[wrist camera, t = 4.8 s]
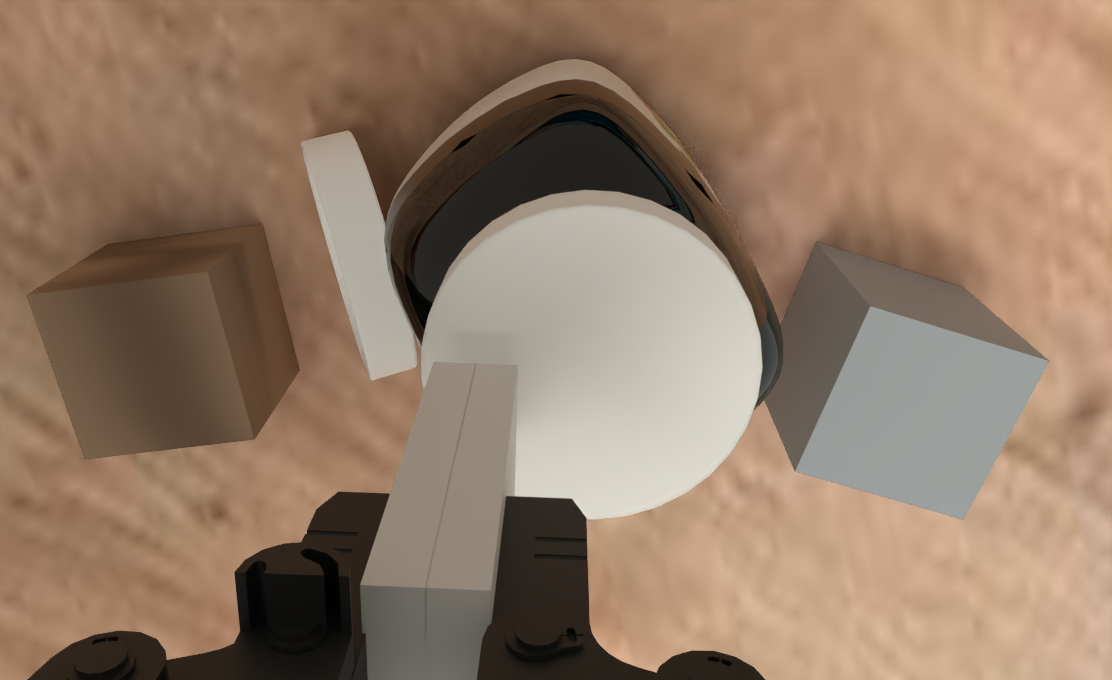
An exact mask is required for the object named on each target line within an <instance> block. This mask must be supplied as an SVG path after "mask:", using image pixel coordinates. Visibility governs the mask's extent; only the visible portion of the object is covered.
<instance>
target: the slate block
mask: <svg viewBox="0 0 1112 680" xmlns="http://www.w3.org/2000/svg"><path fill="white" fill-rule="evenodd" d="M780 328H781V333H782V337H783V366H782V368H781V371H780V374H779V378H778V380H777V381H776V383H775V385H774V386H773V388H772V390H771V392H770V393H769V394H768V395H767V396H766V398H765V399H764V400H765V403H766V405H767V407H768V410H769V412H770V414H771V417H772V419H773V421H774V424H775V426H776V428H777V431H778V433H779V435H780V438H781V440H782V442H783V445H784V447H785V449H786V452H787V454H788V456H789V459H790V461H791V463H792V466H793V468H794V470H795V472H798V473H802V474H805V475H809V476H812V477H816V478H819V479H823V480H826V481H830V482H833V483H837V484H840V485H844V486H847V487H851V488H854V489H858V490H861V491H865V492H868V493H871V494H875V495H878V496H882V497H885V498H889V499H892V500H896V501H899V502H903V503H906V504H910V505H913V506H917V507H920V508H924V509H927V510H931V511H934V512H938V513H941V514H945V515H948V516H952V517H955V518H959V519H962V520H964V518H965V516H966V514H967V512H968V511H969V509H970V507H971V505H972V503H973V501H974V499H975V498H976V496H977V494H978V492H979V490H980V488H981V487H982V485H983V483H984V481H985V479H986V477H987V475H988V474H989V472H990V470H991V468H992V466H993V464H994V462H995V461H996V459H997V457H998V455H999V453H1000V451H1001V450H1002V448H1003V446H1004V444H1005V442H1006V440H1007V438H1008V437H1009V435H1010V433H1011V431H1012V429H1013V427H1014V426H1015V424H1016V422H1017V420H1018V418H1019V416H1020V414H1021V413H1022V411H1023V409H1024V407H1025V405H1026V403H1027V402H1028V400H1029V398H1030V396H1031V394H1032V392H1033V390H1034V389H1035V387H1036V385H1037V383H1038V381H1039V379H1040V377H1041V376H1042V374H1043V372H1044V370H1045V368H1046V366H1047V365H1048V363H1049V360H1047V359H1046V358H1045V357H1044V356H1043V355H1042V354H1040V353H1039V352H1038V351H1037V350H1036V349H1035V348H1033V347H1032V346H1031V345H1030V344H1029V343H1028V342H1027V341H1025V340H1024V339H1023V338H1022V337H1021V336H1020V335H1018V334H1017V333H1016V332H1015V331H1014V330H1013V329H1011V328H1010V327H1009V326H1008V325H1007V324H1006V323H1004V322H1003V321H1002V320H1001V319H1000V318H999V317H997V316H996V315H995V314H994V313H993V312H992V311H990V310H989V309H988V308H987V307H986V306H985V305H983V304H982V303H981V302H980V301H979V300H978V299H976V298H975V297H974V296H973V295H972V294H971V293H969V292H968V291H967V290H966V289H965V288H963V287H960V286H957V285H954V284H951V283H947V282H944V281H941V280H938V279H934V278H931V277H928V276H925V275H922V274H918V273H915V272H912V271H909V270H906V269H902V268H899V267H896V266H893V265H890V264H886V263H883V262H880V261H877V260H873V259H870V258H867V257H864V256H861V255H857V254H854V253H851V252H848V251H845V250H841V249H838V248H835V247H832V246H829V245H825V244H822V243H819V242H816V243H815V245H814V248H813V250H812V253H811V255H810V257H809V260H808V262H807V264H806V267H805V269H804V271H803V274H802V276H801V278H800V281H799V283H798V286H797V288H796V290H795V293H794V295H793V297H792V300H791V302H790V304H789V307H788V309H787V312H786V314H785V316H784V319H783V321H782V323H781V326H780Z"/></svg>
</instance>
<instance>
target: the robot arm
mask: <svg viewBox="0 0 1112 680" xmlns="http://www.w3.org/2000/svg"><path fill="white" fill-rule="evenodd" d="M517 393H518V365H506V364H481V363H456V362H433V365H432V368H431V371H430V374H429V377H428V380H427V383H426V386H425V389H424V392H423V395H422V398H421V401H420V404H419V407H418V411H417V414H416V417H415V420H414V423H413V426H412V429H411V432H410V435H409V438H408V441H407V444H406V447H405V450H404V453H403V456H402V459H401V462H400V465H399V468H398V471H397V474H396V477H395V480H394V483H393V486H392V489H391V493H390V494H384V493H359V492H337V493H336V494H335V495H334V496H332V497H331V498H330V499H329V500H328V501H326V502H325V503H324V504H323V505H321V506H320V507H319V508H318V509H316V512H315V514H314V516H313V518H312V520H311V523H310V525H309V527H308V529H307V534H305V536H304V538H303V540H302V542H301V543H286V544H281V545H278V546H274V547H271V548H267V549H264V550H262V551H260V552H258V553H256V554H255V555H253V556H251V557H249V558H248V559H246V560H245V561H244V562H243V563H242V564H241V565H240V567H239V568H238V569H237V570H236V571H235V582H236V592H237V602H238V612H239V623H240V633H239V635H238V637H237V639H236V641H235V643H234V644H232V645H230V646H227V647H225V648H222V649H219V650H215V651H211V652H207V653H203V654H198V655H192V656H187V657H181V658H176V659H170V660H166V652H165V649H164V648H163V647H162V646H161V644H160V643H159V642H158V640H157V639H155V638H153V637H150V636H148V635H146V634H143V633H141V632H129V631H114V632H109V633H103V634H97V635H93V636H91V637H88V638H86V639H83V640H80V641H78V642H75V643H73V644H71V645H69V646H68V647H66V648H65V649H63V650H62V651H61V652H59V653H58V654H56V655H55V656H53V657H52V658H51V659H50V660H48V661H47V662H46V663H45V664H44V665H43V666H42V667H41V668H40V669H39V670H37V671H36V672H35V673H34V674H33V675H32V676H31V677H30V678H29V679H27V680H765V679H764V678H763V677H762V676H761V674H760V673H759V672H758V671H757V670H756V669H755V668H754V667H752V666H750V665H749V664H747V663H745V662H743V661H742V660H740V659H738V658H737V657H734V656H730V655H727V654H723V653H719V652H716V651H689V652H686V653H682V654H679V655H675V656H673V657H671V658H670V659H669V660H667V661H666V662H665V663H663V664H662V665H661V666H660V667H659V669H658V671H657V673H655V672H652V671H648V670H645V669H641V668H638V667H635V666H632V665H630V664H627V663H624V662H622V661H620V660H618V659H617V658H615V657H613V656H612V655H610V654H608V653H607V652H606V651H605V650H604V649H603V648H602V647H601V646H600V645H599V644H598V643H597V641H596V639H595V638H594V636H593V634H592V632H591V627H590V623H589V592H588V560H587V528H586V517H585V515H584V514H583V513H582V511H581V510H580V509H579V507H578V506H577V505H576V503H575V502H574V501H573V499H571V498H546V497H520V496H515V469H516V431H517Z"/></svg>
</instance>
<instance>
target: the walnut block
mask: <svg viewBox="0 0 1112 680" xmlns="http://www.w3.org/2000/svg"><path fill="white" fill-rule="evenodd" d="M27 298H28V301H29V303H30V306H31V309H32V312H33V315H34V318H35V320H36V323H37V326H38V329H39V332H40V334H41V337H42V340H43V343H44V346H45V349H46V351H47V354H48V357H49V360H50V363H51V366H52V368H53V371H54V374H55V377H56V380H57V382H58V385H59V388H60V391H61V394H62V397H63V399H64V402H65V405H66V408H67V411H68V414H69V416H70V419H71V422H72V425H73V428H74V430H75V433H76V436H77V439H78V442H79V445H80V447H81V450H82V453H83V456H84V459H92V458H100V457H109V456H117V455H126V454H134V453H143V452H151V451H160V450H168V449H177V448H185V447H194V446H202V445H211V444H219V443H228V442H236V441H245V440H253V439H255V438H256V436H257V435H258V433H259V432H260V430H261V429H262V427H263V426H264V424H265V423H266V421H267V419H268V418H269V416H270V415H271V413H272V412H273V410H274V409H275V407H276V406H277V404H278V403H279V401H280V400H281V398H282V396H283V395H284V393H285V392H286V390H287V389H288V387H289V386H290V384H291V383H292V381H293V380H294V378H295V376H296V375H297V373H298V372H299V366H298V362H297V358H296V354H295V350H294V346H293V343H292V339H291V335H290V331H289V327H288V323H287V319H286V315H285V311H284V307H283V303H282V299H281V295H280V291H279V287H278V283H277V279H276V276H275V272H274V268H273V264H272V260H271V256H270V252H269V248H268V244H267V240H266V236H265V232H264V228H263V224H257V225H250V226H242V227H235V228H227V229H219V230H212V231H204V232H197V233H189V234H182V235H174V236H166V237H159V238H151V239H144V240H136V241H128V242H121V243H113V244H107V245H106V246H104V247H103V248H101V249H99V250H98V251H96V252H95V253H93V254H91V255H90V256H88V257H87V258H85V259H83V260H82V261H80V262H79V263H77V264H76V265H74V266H72V267H71V268H69V269H68V270H66V271H64V272H63V273H61V274H60V275H58V276H56V277H55V278H53V279H52V280H50V281H48V282H47V283H45V284H44V285H42V286H41V287H39V288H37V289H36V290H34V291H33V292H31V293H29V294H28V295H27Z"/></svg>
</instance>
